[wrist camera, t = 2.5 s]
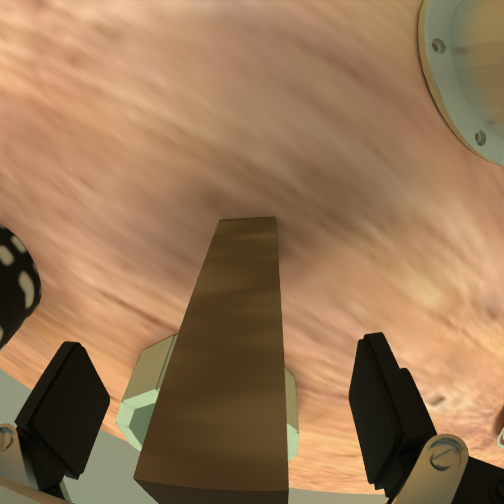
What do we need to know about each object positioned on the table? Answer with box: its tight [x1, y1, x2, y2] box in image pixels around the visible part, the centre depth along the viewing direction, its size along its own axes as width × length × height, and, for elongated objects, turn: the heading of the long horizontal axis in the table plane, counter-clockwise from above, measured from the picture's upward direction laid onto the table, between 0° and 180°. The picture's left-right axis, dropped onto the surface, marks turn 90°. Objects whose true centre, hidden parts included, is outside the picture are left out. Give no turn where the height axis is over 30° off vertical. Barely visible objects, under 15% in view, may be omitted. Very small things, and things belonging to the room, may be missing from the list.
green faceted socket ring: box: [116, 334, 299, 461], centre depth 21 cm, size 13×13×5 cm
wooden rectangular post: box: [133, 217, 289, 504], centre depth 11 cm, size 3×3×14 cm
